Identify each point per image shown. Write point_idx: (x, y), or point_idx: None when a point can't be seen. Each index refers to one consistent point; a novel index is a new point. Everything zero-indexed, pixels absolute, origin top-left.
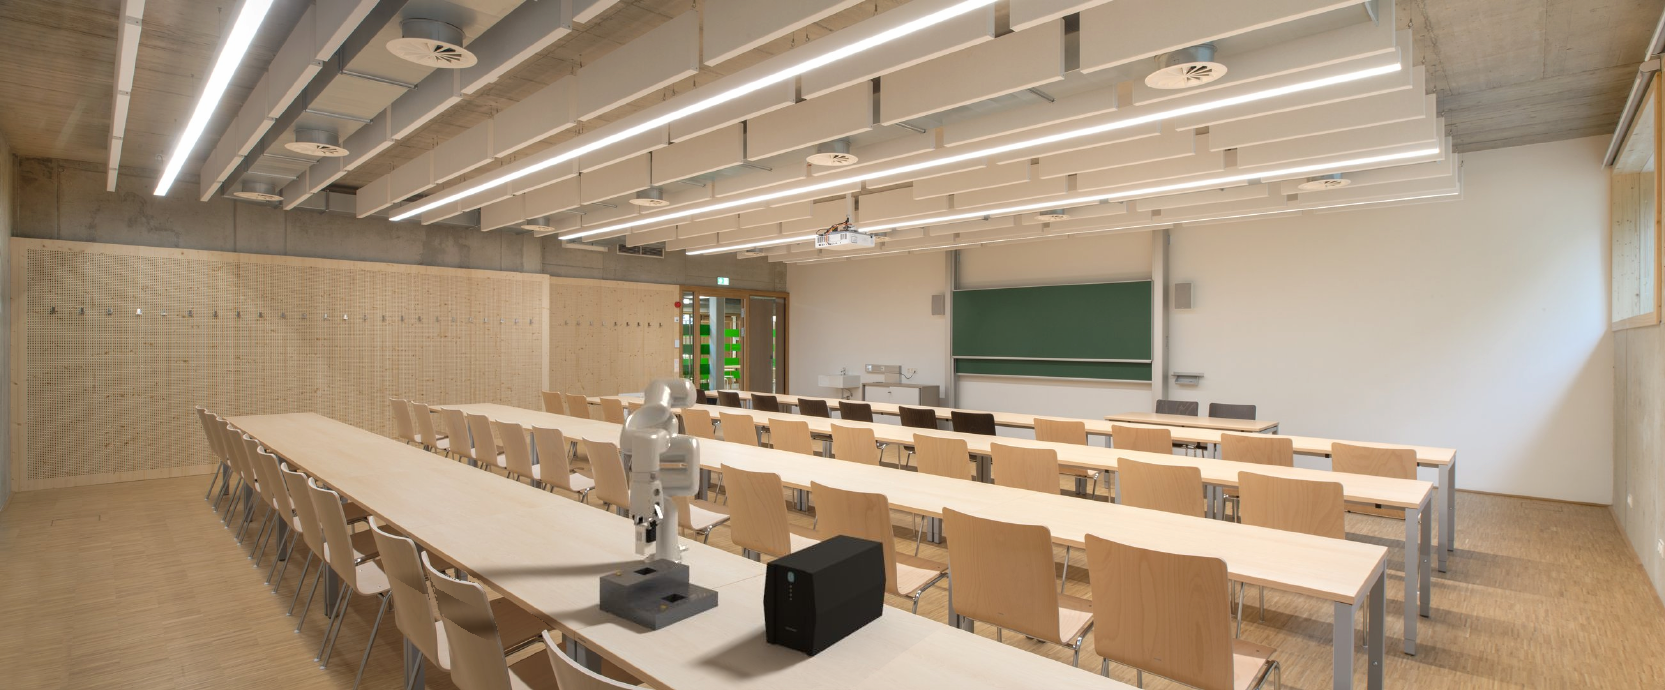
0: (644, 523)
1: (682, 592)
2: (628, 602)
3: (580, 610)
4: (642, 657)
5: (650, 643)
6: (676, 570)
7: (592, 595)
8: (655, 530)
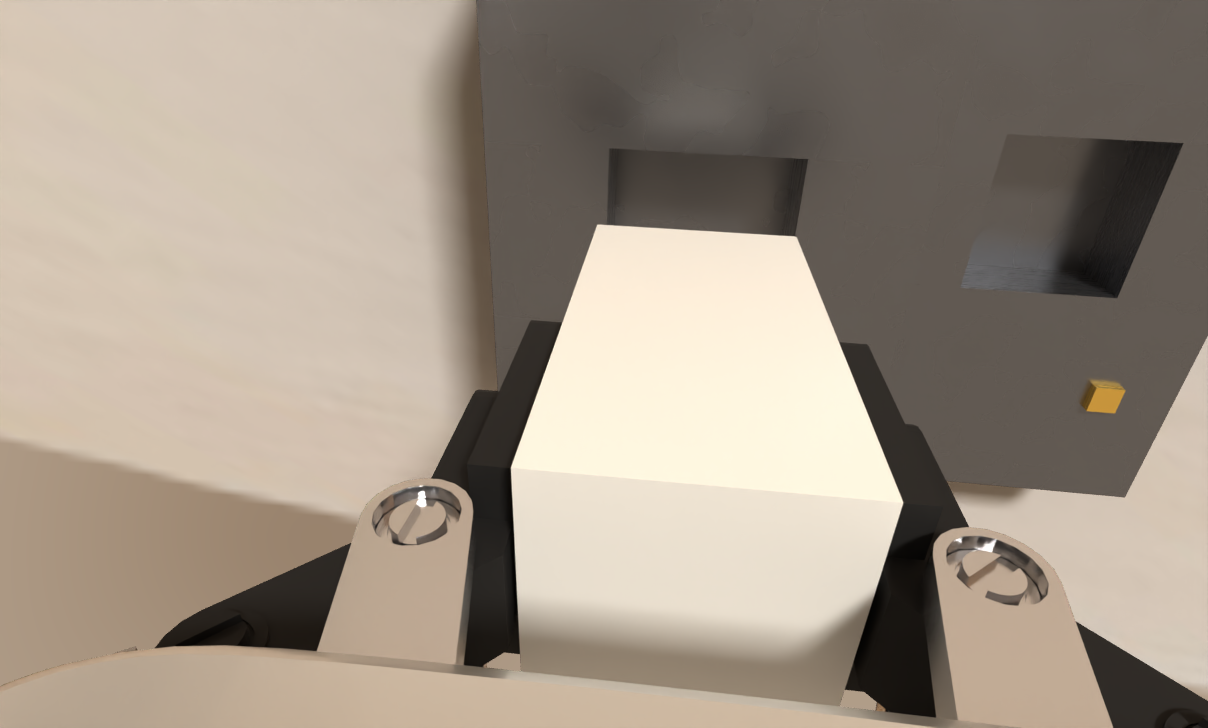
0: (552, 551)
1: (1067, 73)
2: None
3: None
4: (1196, 646)
5: (1147, 548)
6: (981, 6)
7: (309, 273)
8: (961, 518)
